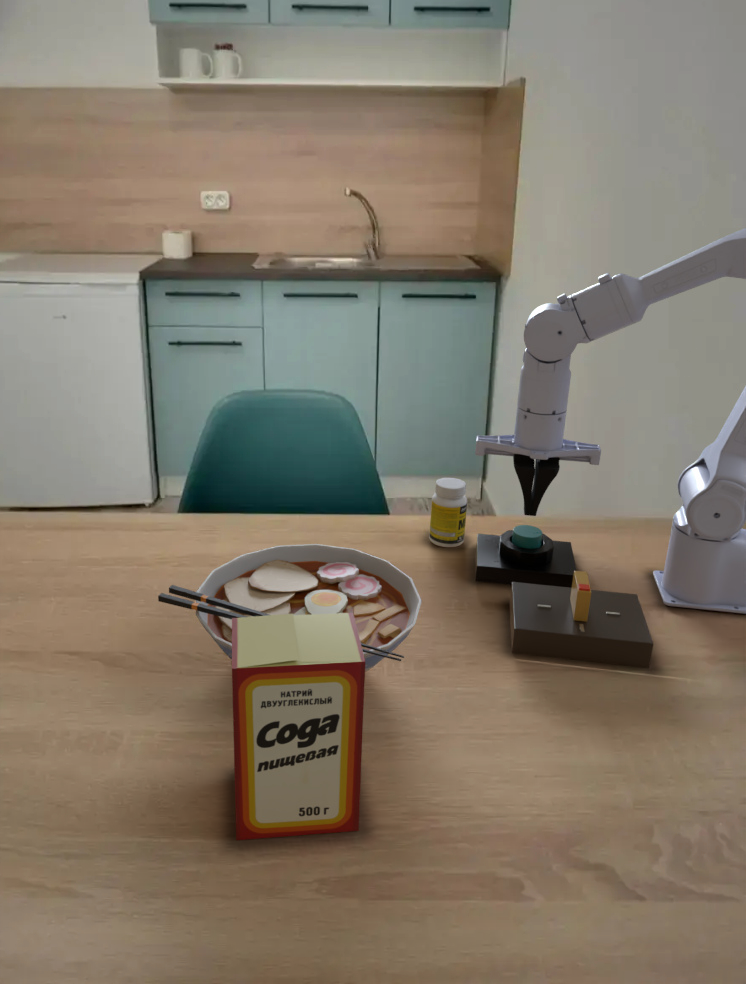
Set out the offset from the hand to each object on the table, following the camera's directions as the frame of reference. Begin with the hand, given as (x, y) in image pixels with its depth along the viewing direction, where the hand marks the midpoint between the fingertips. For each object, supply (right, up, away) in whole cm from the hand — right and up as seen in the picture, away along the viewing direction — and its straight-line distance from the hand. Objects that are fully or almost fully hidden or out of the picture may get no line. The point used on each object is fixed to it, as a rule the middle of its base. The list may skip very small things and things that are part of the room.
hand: (529, 512), depth 102 cm
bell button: (0, -4, +2) cm, 4 cm away
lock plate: (+2, -13, -11) cm, 17 cm away
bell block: (0, -7, +3) cm, 8 cm away
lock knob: (+3, -10, -12) cm, 16 cm away
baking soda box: (-27, -21, -35) cm, 49 cm away
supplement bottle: (-9, -5, +10) cm, 14 cm away
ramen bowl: (-27, -14, -16) cm, 34 cm away
